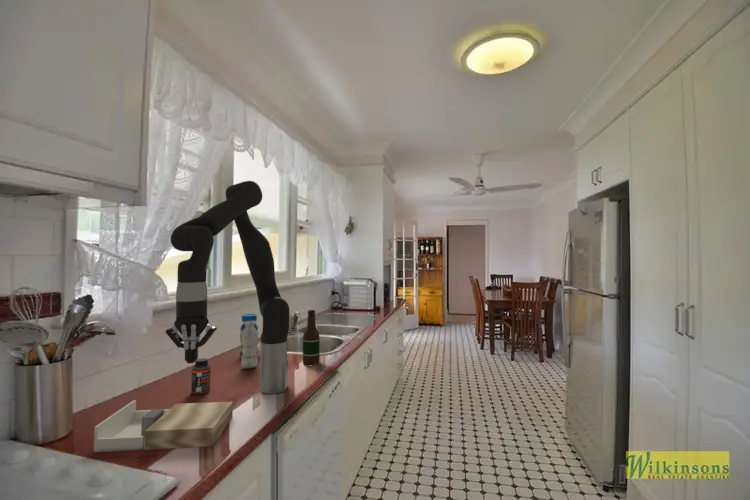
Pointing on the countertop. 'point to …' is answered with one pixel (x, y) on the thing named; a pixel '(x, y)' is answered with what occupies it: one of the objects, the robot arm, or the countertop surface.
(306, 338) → the beer bottle
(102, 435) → the box
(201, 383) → the supplement bottle
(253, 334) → the plastic bottle
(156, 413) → the grey block
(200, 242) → the robot arm
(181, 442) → the board
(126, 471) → the countertop surface
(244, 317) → the beverage bottle
